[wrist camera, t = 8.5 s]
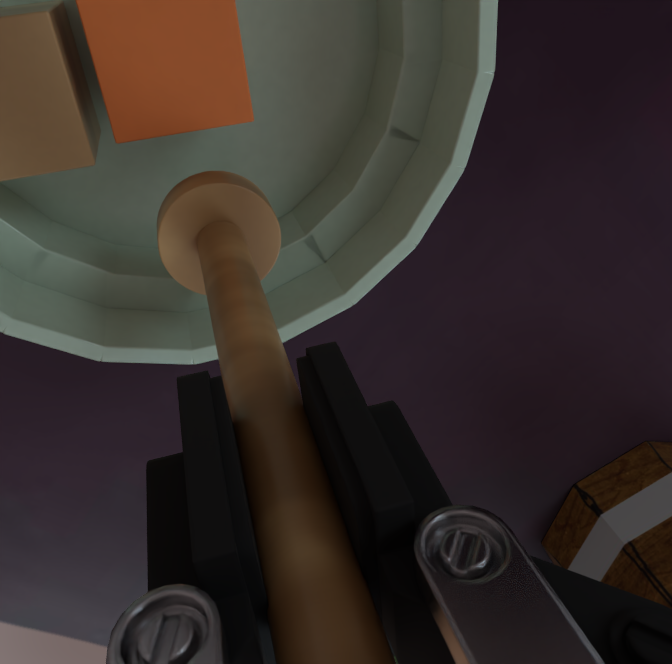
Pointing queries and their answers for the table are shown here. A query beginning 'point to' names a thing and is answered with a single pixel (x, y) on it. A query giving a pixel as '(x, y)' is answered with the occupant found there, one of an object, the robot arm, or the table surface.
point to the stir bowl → (259, 177)
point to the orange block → (167, 65)
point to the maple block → (43, 94)
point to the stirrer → (271, 425)
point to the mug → (621, 524)
